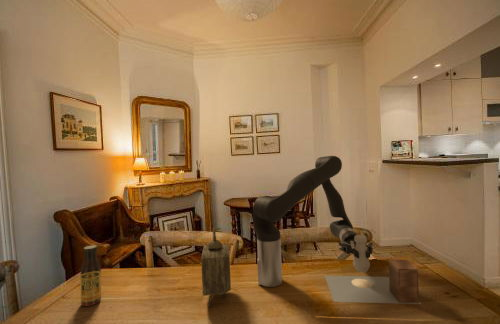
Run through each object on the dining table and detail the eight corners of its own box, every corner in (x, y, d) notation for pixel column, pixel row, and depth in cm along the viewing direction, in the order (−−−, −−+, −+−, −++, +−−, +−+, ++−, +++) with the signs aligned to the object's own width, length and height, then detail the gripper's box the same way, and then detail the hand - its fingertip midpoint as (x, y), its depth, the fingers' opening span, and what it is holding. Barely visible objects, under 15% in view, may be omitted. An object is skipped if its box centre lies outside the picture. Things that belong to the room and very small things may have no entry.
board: (334, 302, 84) (334, 301, 84) (324, 276, 102) (324, 275, 102) (421, 305, 81) (421, 303, 81) (396, 277, 98) (396, 276, 98)
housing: (399, 302, 82) (398, 268, 82) (389, 290, 89) (388, 259, 89) (418, 302, 81) (418, 268, 81) (407, 291, 88) (407, 259, 88)
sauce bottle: (79, 309, 86) (76, 251, 86) (82, 300, 92) (78, 246, 91) (102, 303, 89) (98, 247, 89) (103, 295, 95) (99, 242, 94)
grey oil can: (207, 288, 97) (204, 223, 96) (230, 286, 98) (227, 221, 97) (203, 311, 83) (199, 234, 82) (231, 308, 83) (228, 232, 83)
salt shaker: (366, 266, 97) (365, 232, 97) (372, 273, 92) (371, 238, 91) (351, 266, 98) (350, 233, 97) (355, 273, 92) (354, 238, 92)
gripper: (333, 230, 109) (342, 245, 92) (367, 230, 108) (383, 245, 91) (333, 247, 110) (343, 265, 93) (367, 247, 108) (384, 265, 91)
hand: (363, 255), depth 92 cm, fingers closed on salt shaker, 3 cm apart
